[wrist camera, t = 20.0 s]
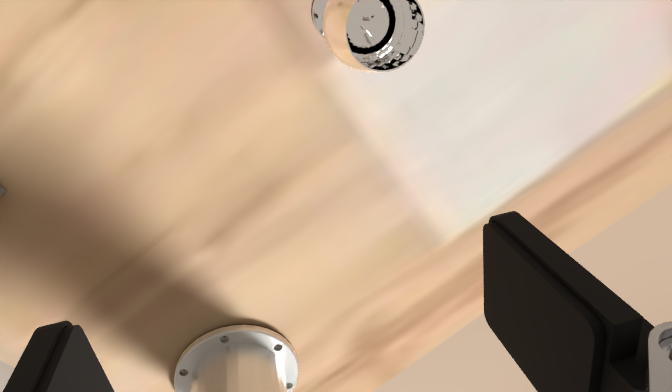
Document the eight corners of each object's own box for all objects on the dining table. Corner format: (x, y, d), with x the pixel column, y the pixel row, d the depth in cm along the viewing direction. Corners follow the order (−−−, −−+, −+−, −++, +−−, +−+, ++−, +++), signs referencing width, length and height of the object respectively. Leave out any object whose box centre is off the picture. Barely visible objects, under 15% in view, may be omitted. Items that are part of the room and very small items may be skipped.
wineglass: (290, 28, 37) (316, 52, 27) (325, -44, 36) (368, -49, 25) (353, 63, 39) (400, 98, 29) (388, -4, 38) (453, 7, 27)
